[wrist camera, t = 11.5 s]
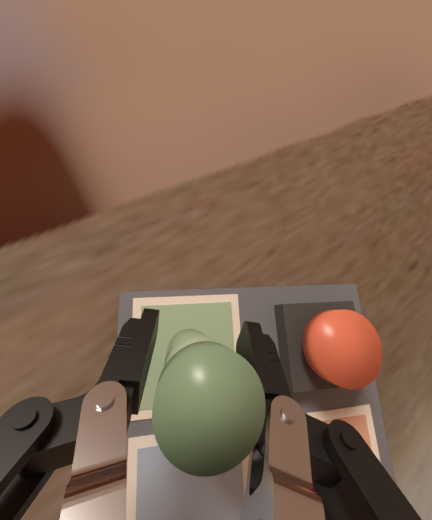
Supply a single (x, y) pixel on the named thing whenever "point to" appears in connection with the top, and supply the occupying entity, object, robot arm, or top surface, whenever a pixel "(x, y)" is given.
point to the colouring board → (226, 333)
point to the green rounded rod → (206, 406)
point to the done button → (343, 348)
